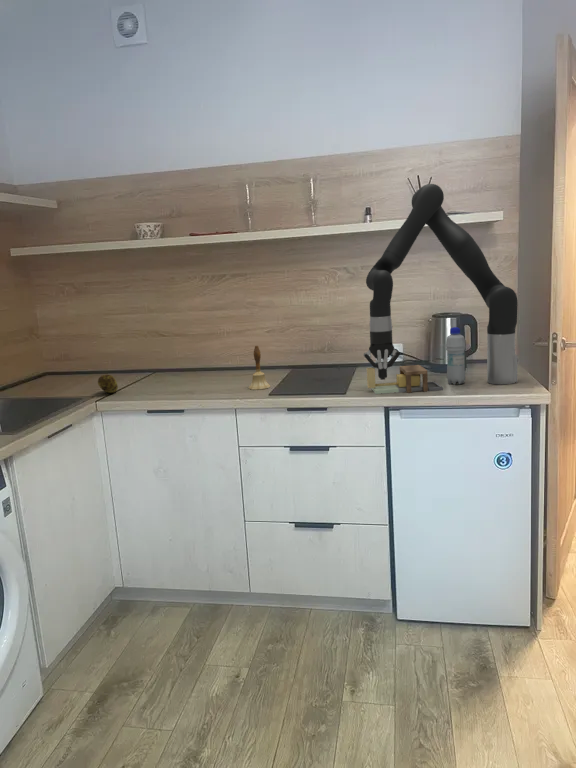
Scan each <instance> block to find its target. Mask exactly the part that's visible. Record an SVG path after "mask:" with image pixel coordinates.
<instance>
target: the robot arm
mask: <svg viewBox="0 0 576 768" xmlns="http://www.w3.org/2000/svg"><path fill="white" fill-rule="evenodd" d="M444 196H445V195H444V191H443V189H442V188H441V187H440V185H438V184H435V183H427V184H425V185H422V186H421V187H419V189H417V190H416V191H415V193H414V194H413V195H412V197H411V207H412V209H411V211H410V213H408V216H407V217H406V219H405V220H404V222H403V224H402V225H401V226H400V228H399V229H398V230H397V232H396V233H395V234H394V235H393V237H392V239H391V240H390V242H389V243H388V245H387V246H386V248H385V250H384V251H383V254H382V255H381V257H379V259H378V260H377V261H376V262H375V264H374V265H373V266H372V267H371V268H370V270H369V271H368V273H367V276H366V279H365V284H366V286H367V288H368V289H369V290H371V291H373V293H372V299H371V300H370V302H369V339H370V340H369V341H370V342H369V343H370V345H369V347H368V351H366V352H364V353H363V357H364V358H365V359H366V360H367V361H368V362H369V363H370V365H371V366H372V367H374V368H375V369H377V373H378V374H377V377H378V378H379V379H380V380H384V381H385V380H386V378H387V377H388V368H390V367H391V368H392V367H393V365H394V363H395V362H396V361H397V360H398V358H399V357H400V355H401V352H400V351H399V350H397V349H395V346H394V344H393V323H392V322H393V321H392V314H391V313H392V312H391V310H392V309H391V308H392V307H391V306H392V305H391V301H392V297H393V290H394V281H393V277H392V274H393V272H394V271H395V270H397V269H399V268H400V266H401V265H402V263H403V262H404V260H405V258H406V257H407V256H408V254H409V252H410V251H411V249H412V247H413V245H414V243H415V242H416V240H417V238H418V236H419V235H420V233H421V232H422V230H423V228H425V226H426V225H427V227H429V229H430V230H431V231H432V232H433V233H434V235H435V237H436V238H437V240H438V241H439V242H440V244H441V245H442V247H443V248H444V250H446V252H447V254H448V255H449V257H450V258H451V259H452V261H453V262H454V263H455V264H456V266H457V267H458V268H459V269H460V270H461V272H462V273H463V274H464V275H465V276H466V277H467V278H468V279H469V280H470V281H471V283H472V284H473V285H474V287H475V288H476V289H477V292H478V293H479V294H480V296H481V298H482V300H483V302H485V304H486V307H487V308H488V315H489V316H488V324H487V326H486V329H487V330H486V331H487V332H486V333H487V336H486V341H487V342H486V345H487V348H486V352H487V353H486V355H487V358H486V359H487V361H486V362H487V364H486V365H487V366H486V367H487V369H486V370H487V371H486V372H487V373H486V374H487V376H486V377H487V381H486V382H487V383H488V384H491V385H511V384H515V382H516V383H518V355H517V354H516V329H517V326H518V325H517V324H518V305H519V304H518V296H517V293H516V292H515V290H513V288H511V287H509V286H505V285H504V284H503V282H502V281H501V280H500V279H499V278H498V277H497V276H496V274H495V273H494V272H493V270H492V269H491V267H490V265H489V263H488V261H487V259H486V256H485V255H484V252H483V251H482V249H481V248H480V245H478V243H477V242H476V241H475V239H474V238H473V237H472V236H471V234H470V233H469V232H468V231H466V229H464V228H463V227H461V226H460V225H459V224H458V223H456V222H455V221H454V220H452V219H451V218H450V217H449V215H448V214H447V213H446V211H445V210H444V208H443V207H442V206H443V203H444V199H445V197H444ZM371 354H372V355H373V357H374V358H375V359H376V363H375V361H374V360H373V359H372V358H371V357H372V355H371ZM391 355H392V357H391ZM389 358H390V359H389Z"/></svg>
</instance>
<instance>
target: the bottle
mask: <svg viewBox="0 0 576 768" xmlns="http://www.w3.org/2000/svg"><path fill="white" fill-rule="evenodd" d="M449 332H450V333H449V335H448V336H447V337H446V342H445V351H446V361H447V363H446V365H447V366H446V367H447V368H446V380H447V383H448V384H449V385H452V384H453V386H454V385H456V384H458V385H463V384H464V383H465V381H466V369H465V368H466V367H465V364H466V363H465V351H466V340H465V336H464V335H462V334H461V329H460V328H459V327H456V326H454V327H451V328H450V330H449Z"/></svg>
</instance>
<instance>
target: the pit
mask: <svg viewBox="0 0 576 768" xmlns="http://www.w3.org/2000/svg"><path fill="white" fill-rule="evenodd" d="M420 382H421V381H420ZM421 383H423V381H422V382H421ZM443 389H444V387H443V386H442V385H440V384H439V383H437V381H428V392H434V391H443Z"/></svg>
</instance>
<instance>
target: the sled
mask: <svg viewBox="0 0 576 768" xmlns="http://www.w3.org/2000/svg"><path fill="white" fill-rule="evenodd" d="M375 370H376V368H374V367H373V366H372V367H366V381H367V382H366V384H367V389H372V388H375V387H378V386H392V385H398V386H399V387H406V374H405V373H404V374H400V373H399V374H397V373H396V382H383V383H382V382H381V383H376V373H375V372H376V371H375ZM420 382H421V375H420V376H419V375H418V374H414V375H411V386H420Z"/></svg>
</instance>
